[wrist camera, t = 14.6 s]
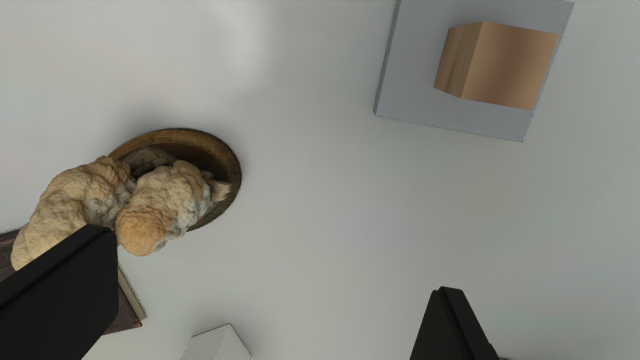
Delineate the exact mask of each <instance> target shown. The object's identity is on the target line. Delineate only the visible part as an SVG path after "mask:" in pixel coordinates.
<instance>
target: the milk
mask: <svg viewBox="0 0 640 360" xmlns="http://www.w3.org/2000/svg"><path fill="white" fill-rule="evenodd" d="M180 360H251V355H250V353H249V352H248V350H247V349H246V347H245V346H244V344H243V343H242V341H241V340H240V338H239V337H238V335H237V334H236V332H235V331H234V329H233V328H232V327H231V325H230V324H227V325H224V326H222V327H219V328H216V329H213V330H211V331H208V332H205V333H203V334H200V335H197V336H194V337H192V338H191V340H190V342H189V344H188V345H187V347H186V349H185V351H184V353H183V355H182V357H181V359H180Z"/></svg>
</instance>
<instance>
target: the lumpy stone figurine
mask: <svg viewBox="0 0 640 360" xmlns="http://www.w3.org/2000/svg"><path fill="white" fill-rule="evenodd" d="M240 184H241V171H240V168H239V163H238V161H237V158H236V156H235V155H234V154H233V152H232V150H231V149H230V148H229V147H228V146H227V145H226V144H224V143H223V142H222V141H221V140H220V139H218V138H216V137H215V136H213V135H211V134H208V133H205V132H202V131H197V130H192V129H181V128H178V129H165V130H159V131H155V132H151V133H147V134H144V135H142V136H139V137H137V138H134V139H132V140H130V141H128V142H126V143H124V144H122V145H121V146H119V147H118V148H116V149H115V150H114V151H113V152H112V153H110V154H109V155H108V156H107V157H106V156H101V157H99V158H97V159H96V161H95V162H92V163H90V164H85V165H80V166H78V167H76V168H73V169H68V170H66V171H64V172H62V173H60V174H59V175H57V176H56V177H55V178H53V179H52V181H51V182H50V183H49V185H48V187H47V189H46V191H44V193H43V194H42V195H41V196H40V201H39V203H38V205H37V207H36V209H35V211H34V213H33V214H32V216H31V217H30V221H29V223H27V224H26V225H24V226H23V227H22V228H21V230H20V231H19V234H18V235H17V238H16V240H15V241H14V245H13V250H12V253H11V262H12V266H13V267H14V269H15V270H16V271H18V270H19V269H20V268H22V267H23V266H25V265H26V264H28V263H29V262H31V261H32V260H34V259H35V258H37V257H38V256H40V255H41V254H43V253H44V252H46V251H47V250H49V249H50V248H52V247H53V246H55V245H56V244H58V243H59V242H61V241H62V240H64V239H65V238H66V237H68V236H69V235H71V234H72V233H74V232H75V231H77V230H78V229H80V228H81V227H83V226H84V225H86V224H95V225H100V226H106V227H109V228H111V230H112V233H115V234H116V236H117V247H118V246H119V245H120V244H121V245H122V246H123V247H124V249H125V250H126V251H127V252H129V253H131V254H133V255H136V256H148V255H150V254H151V253H153V252H156V251H159V250H160V249H161V248H162V247H164V246H165V243H166V242H167V241H168V240H172V239H174V240H175V239H178V238H180V237H182V236H184V234H185V233H186V232H189V231H192V230H195V229H198V228H200V227H202V226H204V225H207V224H208V223H210V222H212V221H213V220H215V219H216V218H217V217H219V216H220V215H222V213H224V212H225V210H226V209H228V208H229V206H230V205H231V204H232V202H233V201H234V199H235V197H236V195H237V193H238V190H239V188H240Z"/></svg>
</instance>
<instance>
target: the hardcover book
mask: <svg viewBox="0 0 640 360" xmlns="http://www.w3.org/2000/svg"><path fill="white" fill-rule="evenodd" d="M20 230H21V229H19V230H16V231H12V232H9V233H5V234H2V235H0V282H1V281H3V280H4V279H6V278H7V277H9V276H10V275H12V274H13V273H15V272H16V270H15V269H14V267H13V266H12V262H11V253H12V250H13V245H14V241H15V240H16V238H17V235H18V234H19V231H20ZM118 291H119V311H118V314H117V316H116V318H115V320H114V321H113V323H112V324H111V325H110V326H109V327H108V328H107V330H106V331H105V332H104V333H103V334H102V335H106V334H110V333H115V332H119V331H124V330H129V329H133V328H138V327H142V323H141V322H140V321H141V320H142V319H144V316H145V314H144V312H143V310H142V309H141V307H140V305H139V303H138V301H137V300H136V298H135V296H134V294H133V292H132V290H131V289H130V287H129V285H128V283H127V281H126V280H125V278H124V276H123V274H122V272H121V270H120V269H119V267H118Z"/></svg>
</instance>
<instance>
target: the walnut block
mask: <svg viewBox="0 0 640 360" xmlns="http://www.w3.org/2000/svg"><path fill="white" fill-rule="evenodd" d="M558 36H559V34H555V33H549V32H543V31H538V30H532V29H526V28H520V27H515V26H509V25H503V24H498V23H492V22H486V21H481V22H476V23H472V24H467V25H463V26H458V27H454V28H449V29H448V33H447V36H446V40H445V44H444V48H443V52H442V55H441V59H440V63H439V67H438V71H437V74H436V78H435V82H434V86H433V88H435V89H437V90H440V91H443V92H445V93H448V94H450V95H453V96H456V97H458V98H461V99H467V100H472V101H478V102H484V103H490V104H495V105H501V106H507V107H513V108H518V109H524V110H530V111H531V110H532V107H533V105H534V102H535V99H536V96H537V94H538V91H539V88H540V85H541V83H542V80H543V77H544V74H545V72H546V69H547V66H548V63H549V61H550V58H551V55H552V52H553V50H554V47H555V44H556V41H557V39H558Z"/></svg>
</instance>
